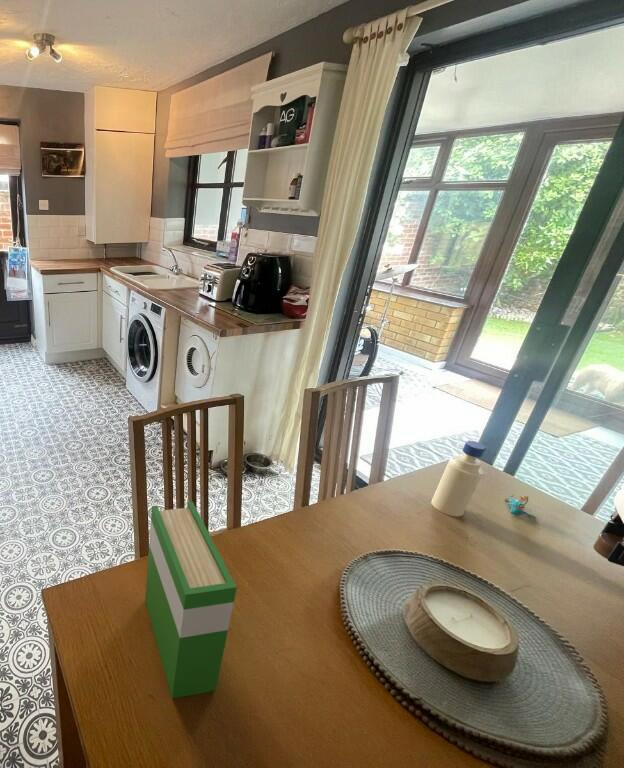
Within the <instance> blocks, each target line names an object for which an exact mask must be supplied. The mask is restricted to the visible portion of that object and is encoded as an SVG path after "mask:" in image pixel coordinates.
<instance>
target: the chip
mask: <svg viewBox="0 0 624 768" xmlns="http://www.w3.org/2000/svg"><path fill="white" fill-rule="evenodd" d="M599 535H600V534H599ZM599 535H598V537H599V538H598V537H597V539H596V541H595V543H594V544H593V545H592V546H593V549H594V551H595V552H596V553H597V554H598V555H600V556H601V557H602V558H604V559H606V560H608V559H607V557H608V555H609V554H610V553H611V551H612V550H613V548H614V547H615V545H616V544H617V542H621V543H622V541H623V538H624V537H622V536H619V535H616V534H612V533H602V534H601V535H600V536H599Z"/></svg>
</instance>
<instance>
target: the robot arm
mask: <svg viewBox="0 0 624 768" xmlns="http://www.w3.org/2000/svg"><path fill="white" fill-rule="evenodd" d="M613 506H614V509H615V510H614V512H613V513H612V514H610V516H609V521H607V523H606V524H605V526H604V527H603V529H602V530H601V532H600V533H599V535H598V537H597V539H598V538H599V536H600V535H601V534H602V533H612V534H616V535H619V536H622V537H624V482H623V483H622V485H621V486H620V487H619V489H618V491H617V492H616V494H615V497H614V498H613ZM606 560H607V562H609V563H612V564H615V565H618V566H620V567H624V538H623V541H622V543H621V542H617V544H616V545H615V547H614V548H613V550H612V551H611V553H610V554H609V555H608V557H607V559H606Z"/></svg>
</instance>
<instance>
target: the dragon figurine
mask: <svg viewBox="0 0 624 768" xmlns="http://www.w3.org/2000/svg"><path fill="white" fill-rule="evenodd" d="M510 497H511V498H508V500H509V501H508V502H506V505H508V506H509V505H510V508H511V509H510V508H509V509H510V510H509V513H510V514H511V515H513V514H514V515H513V516H520V515H521V516H526V515H527V516H528V517H531V518H534V519H536V518H537V517H536V516H535V515H533V513H529V512H527V511H524V509H525V507H526V505H527V503H528V502H529V495H527V496H526V495H523V496H519V497H520V499H516V498H512V497H514V494H513V493H512V494H511V496H510Z"/></svg>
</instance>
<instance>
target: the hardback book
mask: <svg viewBox="0 0 624 768" xmlns="http://www.w3.org/2000/svg"><path fill="white" fill-rule="evenodd" d="M149 526H150V529H149V542H148V554H147V555H148V556H147V570H146V583H145V597H144V602H145V606H146V609H147V612H148V616H149V620H150V623H151V628H152V630H153V635H154V638H155V642H156V645H157V649H158V652H159V656H160V660H161V664H162V667H163V671H164V674H165V679H166V682H167V686H168V690H169V693H170V696H171V699H172V700H173V699H179V698H184V697H188V696H194V695H200V694H205V693H209V692H215V691H216V690H217V686H218V683H219V682H218V681H219V676H220V671H221V666H222V663H223V656H224V652H225V648H226V643H227V638H228V633H229V629H230V628H229V627H230V624H231V618H232V614H233V609H234V604H235V599H236V594H237V589H238V587H237V584H236V582H235V581H234V578H233V577H232V575H231V572H229V569H228V567H227V565H226V564H225V561H224V559H223V557H222V555H221V553H220V551H219V550H218V548H217V545H216V543H215V542H214V539H213V538H212V536H211V534H210V532H209V530H208V529H207V526H206V525H205V522H204V521H203V518H202V517H201V515H200V513H199V511H198V509H197V507H196V505H195V503H194V501H187V503H186V507H181V508H171V509H162V510H160V509H159V506H158V505H152V506H151V515H150V525H149Z"/></svg>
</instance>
